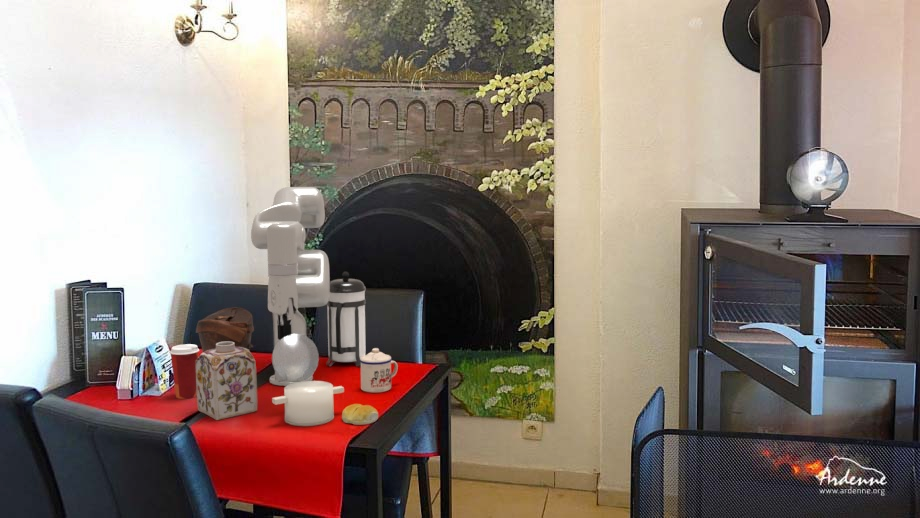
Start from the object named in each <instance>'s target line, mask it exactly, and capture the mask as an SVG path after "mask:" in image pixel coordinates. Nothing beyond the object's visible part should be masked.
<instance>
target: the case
mask: <svg viewBox="0 0 920 518" xmlns="http://www.w3.org/2000/svg"><path fill="white" fill-rule="evenodd" d="M254 331H255V328H254V319H253V314H252V313H251V312H250V311H249V310H247V309H245V308H242V307H235V306H233V307H226V308H223V309H220V310H217V311H215V312H214V313H211V314H209V315H207V316H206V317H204V318H202V319H200V320H198V322H197V324H196V328H195V333H196V334H198V338H199V341H200V346H201V350H202V353H203V352H204V351H206V350H210V349H214V348H216V343H219V342H224V341H229V342H234V343H235V347H242V348H246V349H249V351H250V350H251V348H254V344H252V343H251V342H252V341H251V340H252V334H253V333H254ZM250 352H251V351H250Z"/></svg>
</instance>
